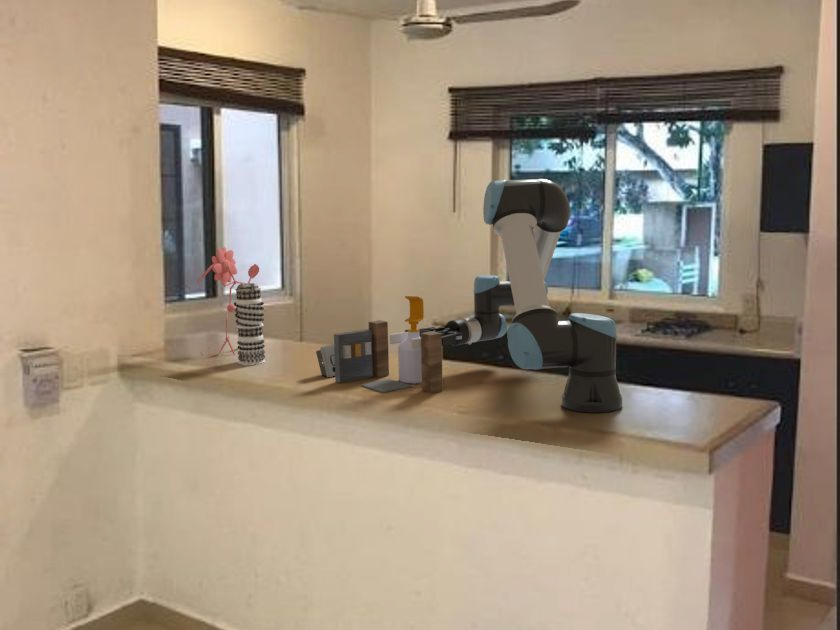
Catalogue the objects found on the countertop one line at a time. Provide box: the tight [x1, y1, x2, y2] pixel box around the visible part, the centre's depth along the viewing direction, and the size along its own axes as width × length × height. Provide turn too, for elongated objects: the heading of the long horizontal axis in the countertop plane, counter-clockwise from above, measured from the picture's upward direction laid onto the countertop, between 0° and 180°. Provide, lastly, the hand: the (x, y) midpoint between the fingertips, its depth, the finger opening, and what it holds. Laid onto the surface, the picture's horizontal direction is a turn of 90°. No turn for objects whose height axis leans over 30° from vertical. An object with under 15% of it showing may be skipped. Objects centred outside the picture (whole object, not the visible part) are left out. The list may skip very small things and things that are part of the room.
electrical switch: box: [315, 343, 335, 378], centre depth 282 cm, size 9×5×9 cm, turn 141°
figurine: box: [197, 246, 266, 355], centre depth 318 cm, size 15×26×35 cm, turn 150°
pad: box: [360, 378, 413, 394], centre depth 266 cm, size 11×10×1 cm
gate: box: [368, 319, 443, 394], centre depth 268 cm, size 29×4×16 cm, turn 38°
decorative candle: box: [233, 282, 266, 366], centre depth 299 cm, size 9×9×25 cm
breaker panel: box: [333, 328, 374, 384], centre depth 273 cm, size 4×12×14 cm, turn 128°
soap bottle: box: [397, 295, 425, 385], centre depth 270 cm, size 9×9×25 cm
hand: (401, 341), depth 267 cm, fingers open, 9 cm apart
